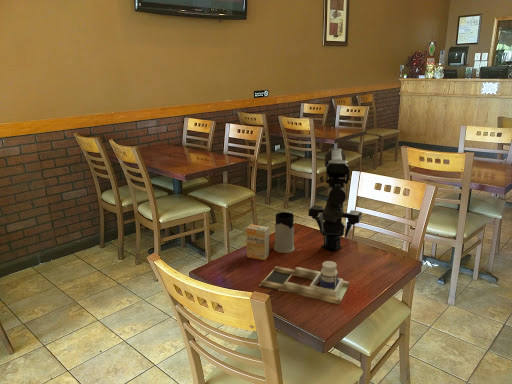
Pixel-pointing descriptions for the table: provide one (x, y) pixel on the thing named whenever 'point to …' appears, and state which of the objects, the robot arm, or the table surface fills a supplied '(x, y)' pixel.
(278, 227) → the glass holder
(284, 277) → the tray
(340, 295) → the pad
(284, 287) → the oak channel
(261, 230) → the supplement box
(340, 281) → the collar carriage
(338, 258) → the table surface
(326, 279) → the pill bottle
